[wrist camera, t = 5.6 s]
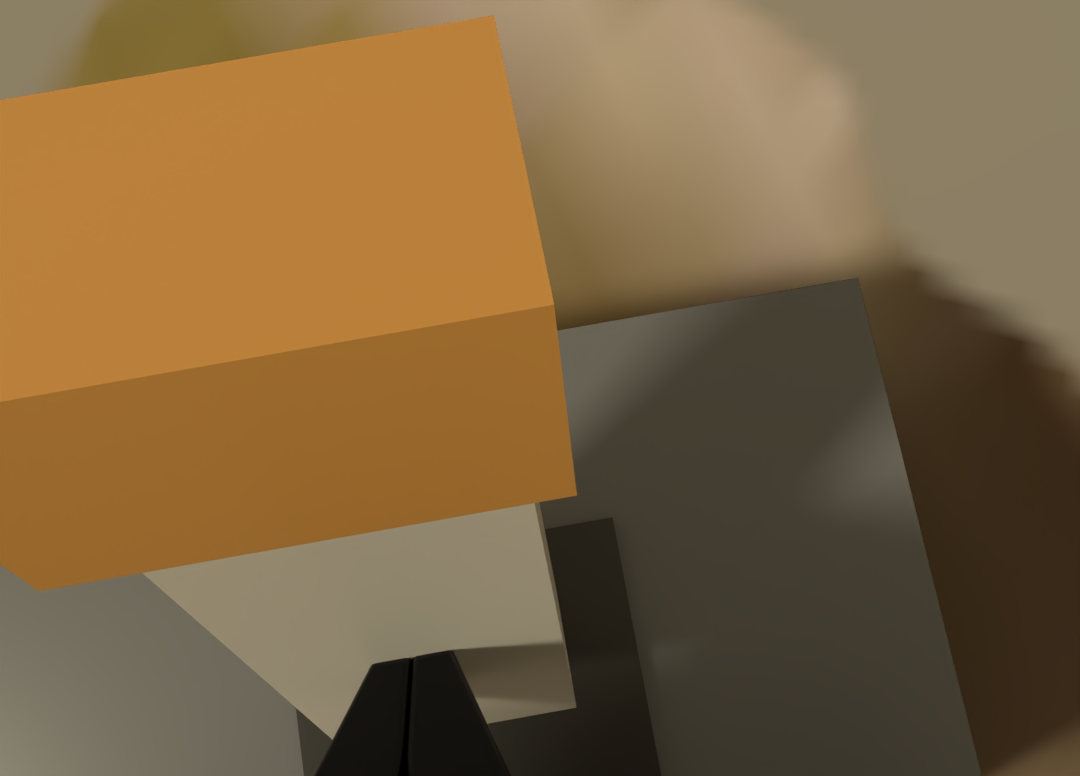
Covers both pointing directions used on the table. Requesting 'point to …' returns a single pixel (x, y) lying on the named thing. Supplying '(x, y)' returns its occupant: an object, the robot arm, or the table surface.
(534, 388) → the breaker lever
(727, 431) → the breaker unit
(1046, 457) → the table surface
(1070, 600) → the table surface
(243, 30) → the table surface
